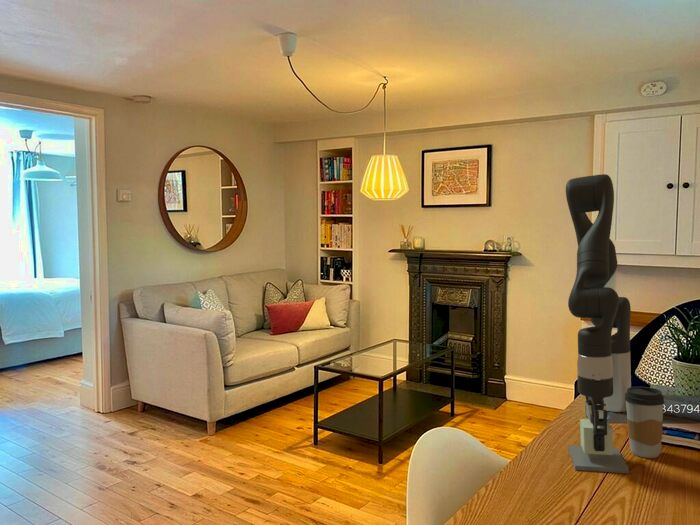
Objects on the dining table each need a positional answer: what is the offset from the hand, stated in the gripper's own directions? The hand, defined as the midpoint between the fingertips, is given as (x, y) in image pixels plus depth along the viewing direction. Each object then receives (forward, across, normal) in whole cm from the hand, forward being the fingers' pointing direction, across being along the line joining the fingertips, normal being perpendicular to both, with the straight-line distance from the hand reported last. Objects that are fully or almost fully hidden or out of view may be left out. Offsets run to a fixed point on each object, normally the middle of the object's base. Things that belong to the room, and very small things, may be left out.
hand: (596, 444), depth 127 cm
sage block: (+1, 0, 0) cm, 1 cm away
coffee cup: (+4, -6, +12) cm, 14 cm away
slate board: (+4, 0, 0) cm, 4 cm away
